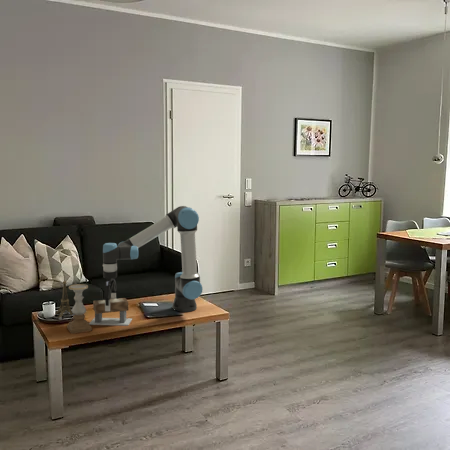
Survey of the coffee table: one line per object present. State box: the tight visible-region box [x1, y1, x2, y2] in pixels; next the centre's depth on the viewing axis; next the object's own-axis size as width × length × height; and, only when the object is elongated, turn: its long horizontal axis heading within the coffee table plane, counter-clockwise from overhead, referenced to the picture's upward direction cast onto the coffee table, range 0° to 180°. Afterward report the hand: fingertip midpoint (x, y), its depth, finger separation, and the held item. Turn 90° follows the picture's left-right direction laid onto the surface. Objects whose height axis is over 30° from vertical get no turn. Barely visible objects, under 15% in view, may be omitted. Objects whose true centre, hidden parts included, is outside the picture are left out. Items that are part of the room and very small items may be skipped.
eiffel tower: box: [55, 276, 73, 318], centre depth 296 cm, size 11×11×25 cm
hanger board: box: [88, 311, 133, 327], centre depth 288 cm, size 22×11×7 cm, turn 89°
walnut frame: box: [92, 297, 129, 314], centre depth 287 cm, size 18×9×5 cm, turn 113°
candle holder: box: [66, 283, 93, 335], centre depth 274 cm, size 11×11×24 cm
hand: (110, 307), depth 287 cm, fingers open, 13 cm apart
